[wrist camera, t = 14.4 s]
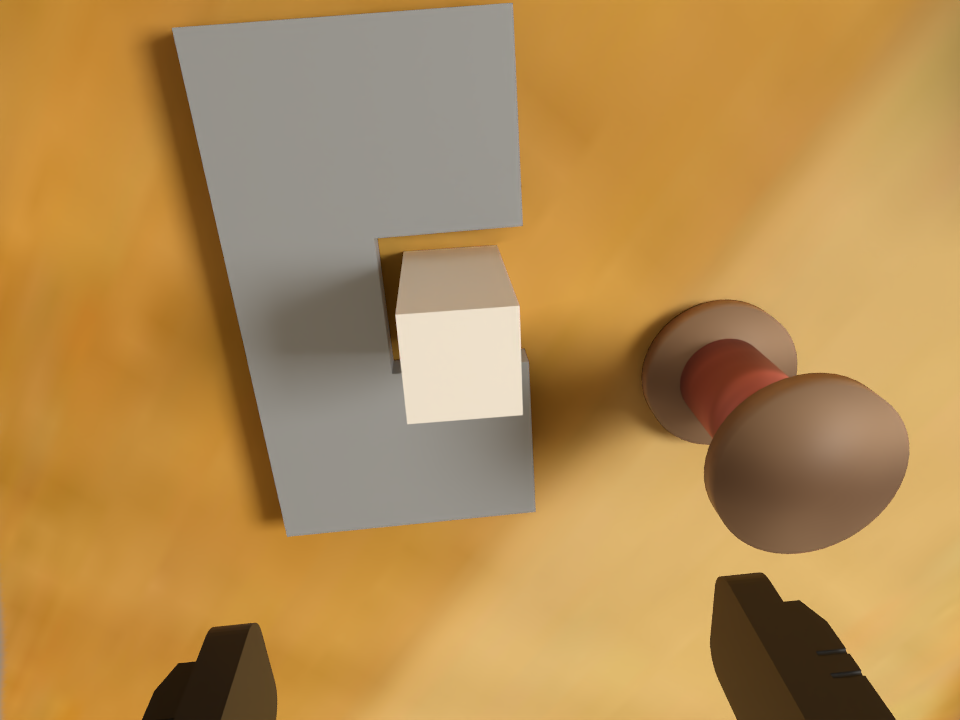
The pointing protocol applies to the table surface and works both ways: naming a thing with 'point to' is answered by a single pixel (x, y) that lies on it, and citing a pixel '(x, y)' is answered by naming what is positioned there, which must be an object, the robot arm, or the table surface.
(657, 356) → the spool
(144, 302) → the table surface
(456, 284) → the block
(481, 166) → the notched board
